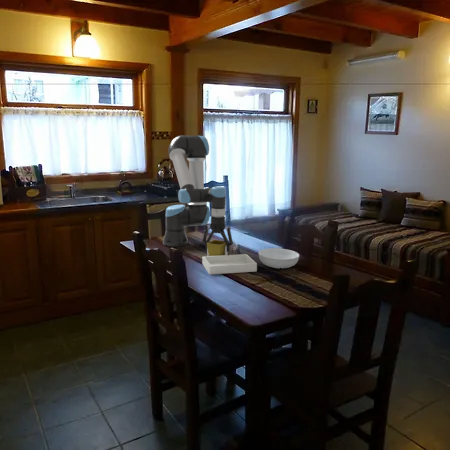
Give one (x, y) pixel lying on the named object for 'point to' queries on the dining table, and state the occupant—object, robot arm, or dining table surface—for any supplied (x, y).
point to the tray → (229, 264)
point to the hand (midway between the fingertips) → (217, 256)
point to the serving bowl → (278, 257)
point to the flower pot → (216, 248)
